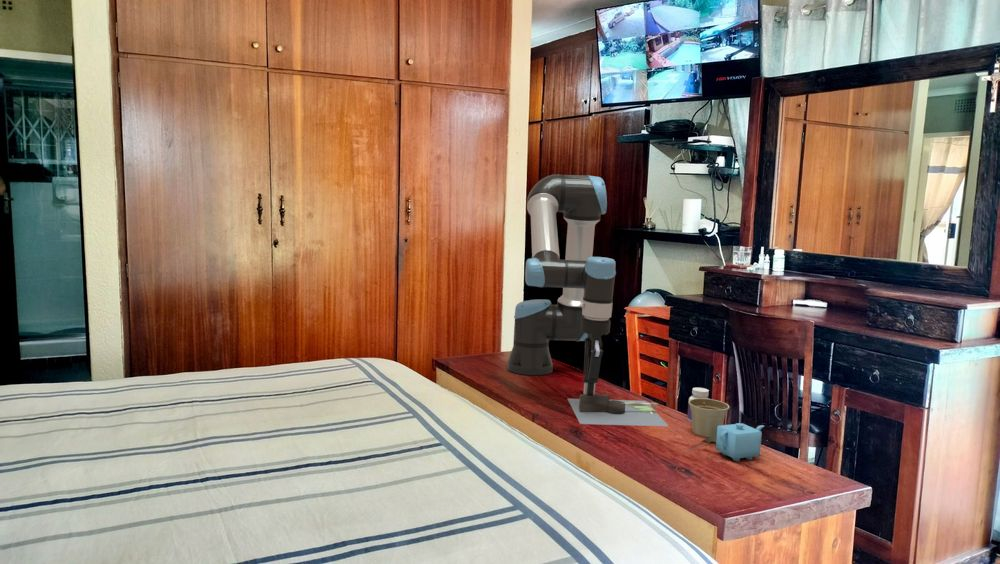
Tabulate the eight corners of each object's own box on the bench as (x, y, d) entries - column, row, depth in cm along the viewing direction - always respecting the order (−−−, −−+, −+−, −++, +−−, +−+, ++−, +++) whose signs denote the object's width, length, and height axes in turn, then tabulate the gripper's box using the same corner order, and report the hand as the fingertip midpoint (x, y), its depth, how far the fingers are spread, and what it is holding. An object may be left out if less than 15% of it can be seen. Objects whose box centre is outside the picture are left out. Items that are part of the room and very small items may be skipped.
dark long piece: (654, 408, 180) (655, 393, 180) (660, 413, 176) (661, 398, 175) (577, 407, 178) (578, 392, 178) (581, 413, 173) (582, 397, 173)
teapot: (752, 449, 157) (754, 417, 156) (771, 458, 152) (774, 425, 151) (709, 453, 153) (712, 421, 152) (727, 463, 147) (730, 430, 146)
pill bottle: (696, 431, 168) (699, 393, 167) (682, 424, 173) (684, 387, 172) (713, 429, 171) (716, 391, 170) (698, 422, 176) (701, 385, 175)
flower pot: (729, 447, 158) (732, 411, 157) (687, 443, 159) (690, 407, 158) (724, 434, 167) (726, 400, 166) (684, 430, 169) (687, 396, 168)
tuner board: (567, 403, 187) (567, 397, 187) (645, 406, 188) (646, 400, 188) (579, 429, 165) (580, 423, 165) (668, 432, 167) (669, 425, 166)
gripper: (577, 311, 180) (570, 397, 183) (585, 321, 167) (577, 413, 171) (605, 313, 180) (597, 398, 184) (615, 323, 168) (606, 414, 171)
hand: (587, 405), depth 177 cm, fingers closed
